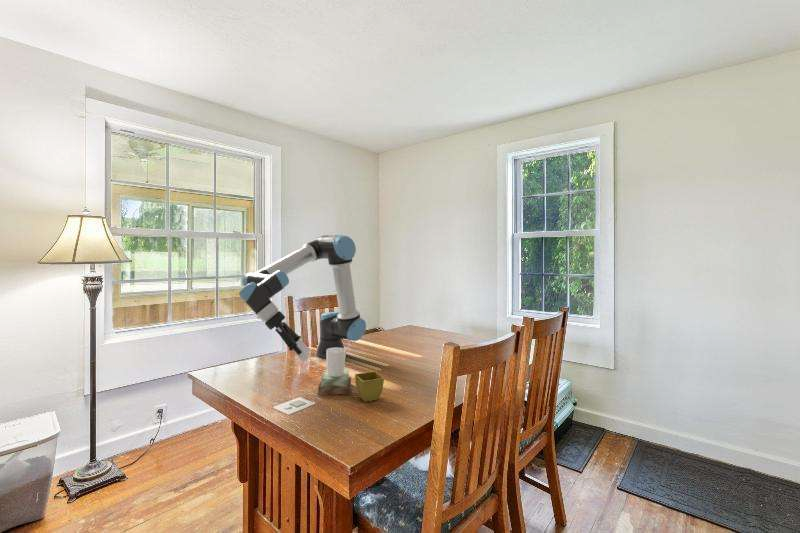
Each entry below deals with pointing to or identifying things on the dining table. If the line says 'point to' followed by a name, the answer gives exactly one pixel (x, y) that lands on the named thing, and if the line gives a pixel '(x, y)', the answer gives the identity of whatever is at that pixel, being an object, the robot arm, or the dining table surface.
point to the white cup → (335, 361)
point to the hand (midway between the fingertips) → (307, 356)
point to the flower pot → (369, 385)
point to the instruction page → (293, 405)
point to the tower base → (334, 389)
